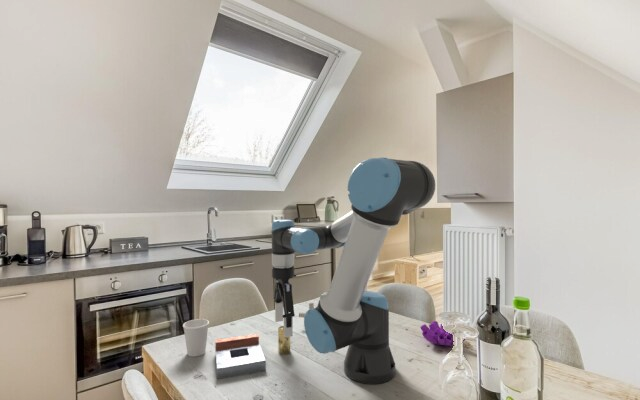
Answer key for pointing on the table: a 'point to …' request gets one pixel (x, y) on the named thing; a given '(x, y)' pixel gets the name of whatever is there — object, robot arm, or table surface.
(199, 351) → the dixie cup
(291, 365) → the table surface
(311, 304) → the pipe connector
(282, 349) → the brass cylinder
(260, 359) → the jig
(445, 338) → the pipe connector assembly
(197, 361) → the table surface
